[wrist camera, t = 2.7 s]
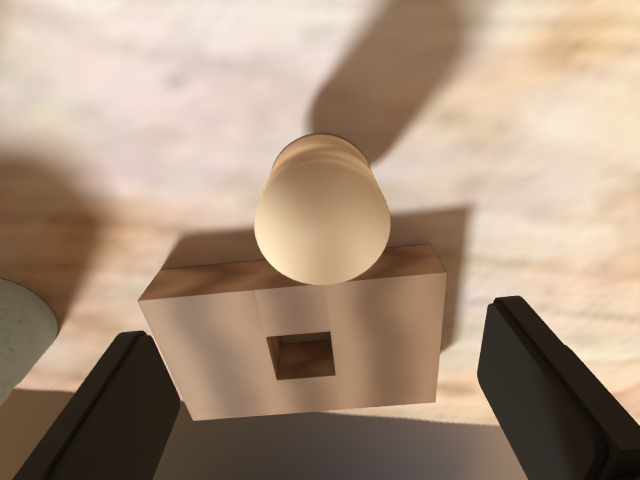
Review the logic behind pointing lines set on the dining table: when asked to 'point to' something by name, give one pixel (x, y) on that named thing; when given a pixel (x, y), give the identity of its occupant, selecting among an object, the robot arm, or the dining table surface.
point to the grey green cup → (22, 333)
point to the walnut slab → (299, 318)
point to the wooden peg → (321, 212)
